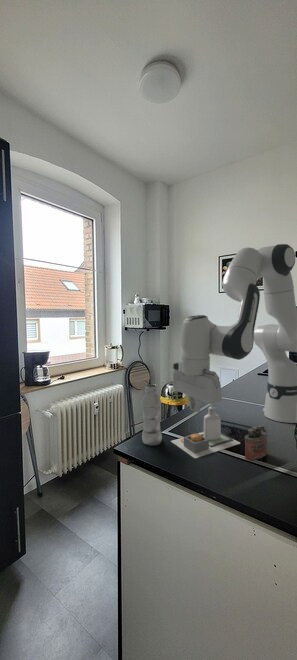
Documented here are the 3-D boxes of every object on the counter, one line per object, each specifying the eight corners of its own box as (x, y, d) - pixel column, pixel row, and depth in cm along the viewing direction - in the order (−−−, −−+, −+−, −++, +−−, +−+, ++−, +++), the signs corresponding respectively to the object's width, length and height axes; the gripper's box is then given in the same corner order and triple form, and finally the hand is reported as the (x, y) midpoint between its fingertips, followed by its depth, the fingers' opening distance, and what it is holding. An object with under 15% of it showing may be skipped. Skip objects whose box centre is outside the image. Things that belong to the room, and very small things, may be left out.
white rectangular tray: (213, 432, 100) (213, 421, 100) (240, 446, 89) (240, 434, 89) (170, 444, 91) (170, 432, 91) (194, 462, 80) (194, 448, 80)
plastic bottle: (160, 450, 88) (159, 388, 87) (139, 448, 89) (138, 388, 88) (163, 441, 94) (162, 384, 93) (144, 439, 95) (143, 383, 94)
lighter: (250, 466, 78) (250, 431, 77) (241, 460, 81) (241, 427, 80) (269, 459, 81) (270, 426, 81) (260, 454, 84) (260, 422, 84)
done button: (197, 438, 89) (196, 432, 89) (203, 442, 86) (203, 436, 86) (188, 441, 87) (188, 435, 87) (195, 445, 84) (195, 439, 84)
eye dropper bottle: (220, 442, 90) (220, 406, 89) (203, 440, 91) (203, 405, 91) (220, 436, 94) (220, 402, 93) (204, 434, 96) (204, 401, 95)
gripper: (227, 371, 78) (226, 419, 78) (184, 361, 96) (184, 400, 96) (210, 373, 75) (209, 423, 75) (169, 363, 93) (169, 403, 93)
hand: (195, 410), depth 86 cm, fingers closed
